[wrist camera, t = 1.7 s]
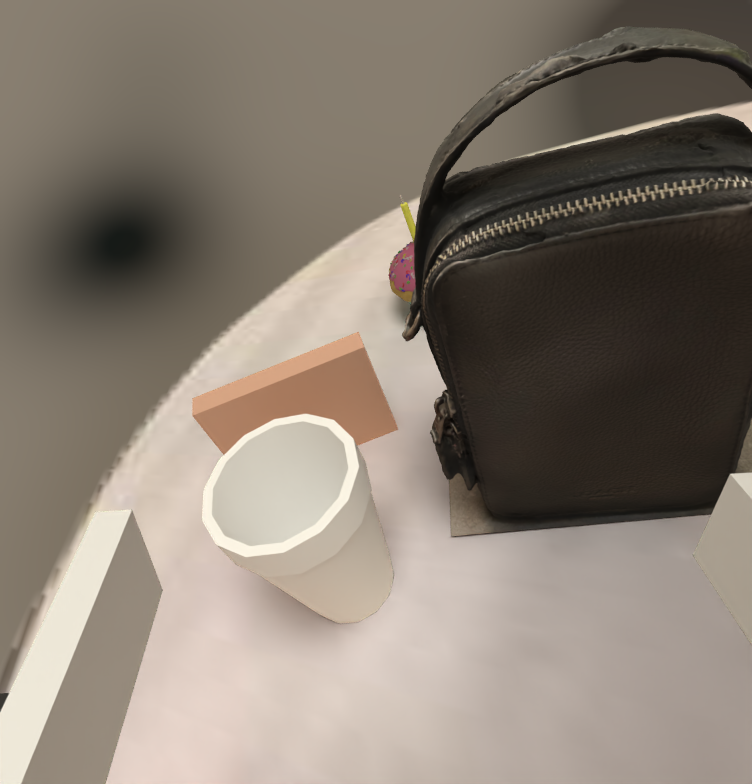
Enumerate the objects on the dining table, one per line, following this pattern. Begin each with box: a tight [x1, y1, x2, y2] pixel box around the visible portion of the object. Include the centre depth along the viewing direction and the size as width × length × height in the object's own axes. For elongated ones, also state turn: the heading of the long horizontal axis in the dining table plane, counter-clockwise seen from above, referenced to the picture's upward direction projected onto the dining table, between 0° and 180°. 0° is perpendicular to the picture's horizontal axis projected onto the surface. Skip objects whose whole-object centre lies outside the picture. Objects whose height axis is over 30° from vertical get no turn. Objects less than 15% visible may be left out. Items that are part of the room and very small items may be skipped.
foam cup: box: [202, 414, 394, 624], centre depth 36 cm, size 10×9×13 cm
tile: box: [192, 332, 398, 454], centre depth 46 cm, size 2×14×10 cm, turn 104°
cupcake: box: [389, 195, 416, 304], centre depth 55 cm, size 9×8×12 cm
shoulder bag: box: [402, 26, 752, 536], centre depth 31 cm, size 23×9×28 cm, turn 86°
